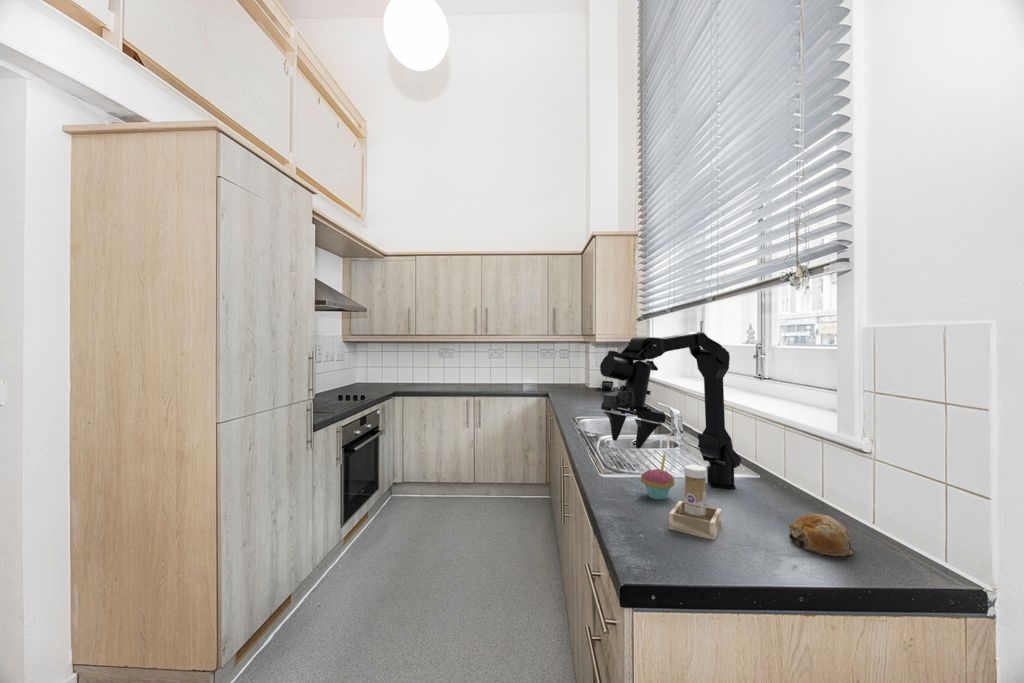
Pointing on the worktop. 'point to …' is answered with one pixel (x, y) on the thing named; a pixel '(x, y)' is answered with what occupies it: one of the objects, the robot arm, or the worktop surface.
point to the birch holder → (695, 522)
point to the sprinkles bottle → (695, 491)
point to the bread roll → (821, 535)
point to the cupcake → (658, 482)
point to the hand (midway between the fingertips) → (625, 444)
